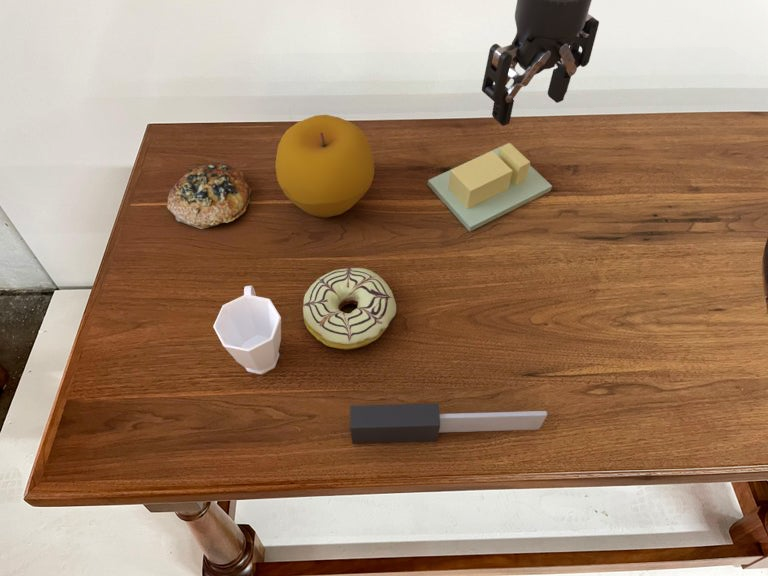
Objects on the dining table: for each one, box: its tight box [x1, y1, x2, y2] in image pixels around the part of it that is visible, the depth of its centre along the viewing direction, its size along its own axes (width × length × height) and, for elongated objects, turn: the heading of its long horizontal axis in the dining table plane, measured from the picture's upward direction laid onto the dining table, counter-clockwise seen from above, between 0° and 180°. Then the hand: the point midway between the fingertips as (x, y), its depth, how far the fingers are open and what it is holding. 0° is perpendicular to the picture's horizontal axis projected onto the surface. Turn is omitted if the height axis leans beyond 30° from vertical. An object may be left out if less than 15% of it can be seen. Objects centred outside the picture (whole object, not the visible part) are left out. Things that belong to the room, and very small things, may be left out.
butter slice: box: [498, 142, 531, 185], centre depth 83 cm, size 4×2×4 cm, turn 32°
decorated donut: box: [302, 267, 397, 350], centre depth 71 cm, size 10×11×4 cm
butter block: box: [448, 150, 513, 209], centre depth 81 cm, size 4×7×4 cm, turn 122°
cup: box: [212, 284, 282, 375], centre depth 67 cm, size 7×10×8 cm
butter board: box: [427, 143, 553, 232], centre depth 84 cm, size 10×14×1 cm
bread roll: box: [166, 162, 252, 230], centre depth 81 cm, size 11×11×5 cm
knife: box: [349, 402, 548, 445], centre depth 62 cm, size 2×20×4 cm, turn 92°
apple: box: [274, 114, 375, 219], centre depth 78 cm, size 13×13×11 cm
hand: (528, 109), depth 75 cm, fingers open, 8 cm apart
